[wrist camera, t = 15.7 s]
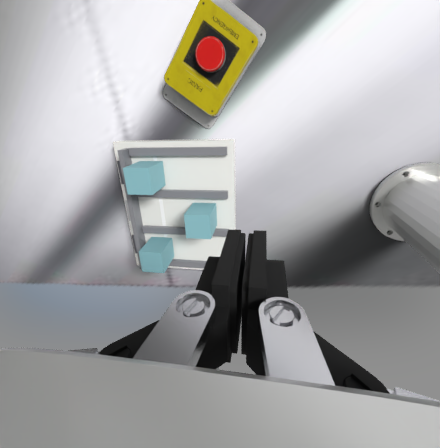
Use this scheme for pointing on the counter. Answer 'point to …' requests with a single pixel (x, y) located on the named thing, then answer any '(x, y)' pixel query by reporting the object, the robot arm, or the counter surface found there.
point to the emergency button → (211, 59)
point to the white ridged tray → (181, 194)
